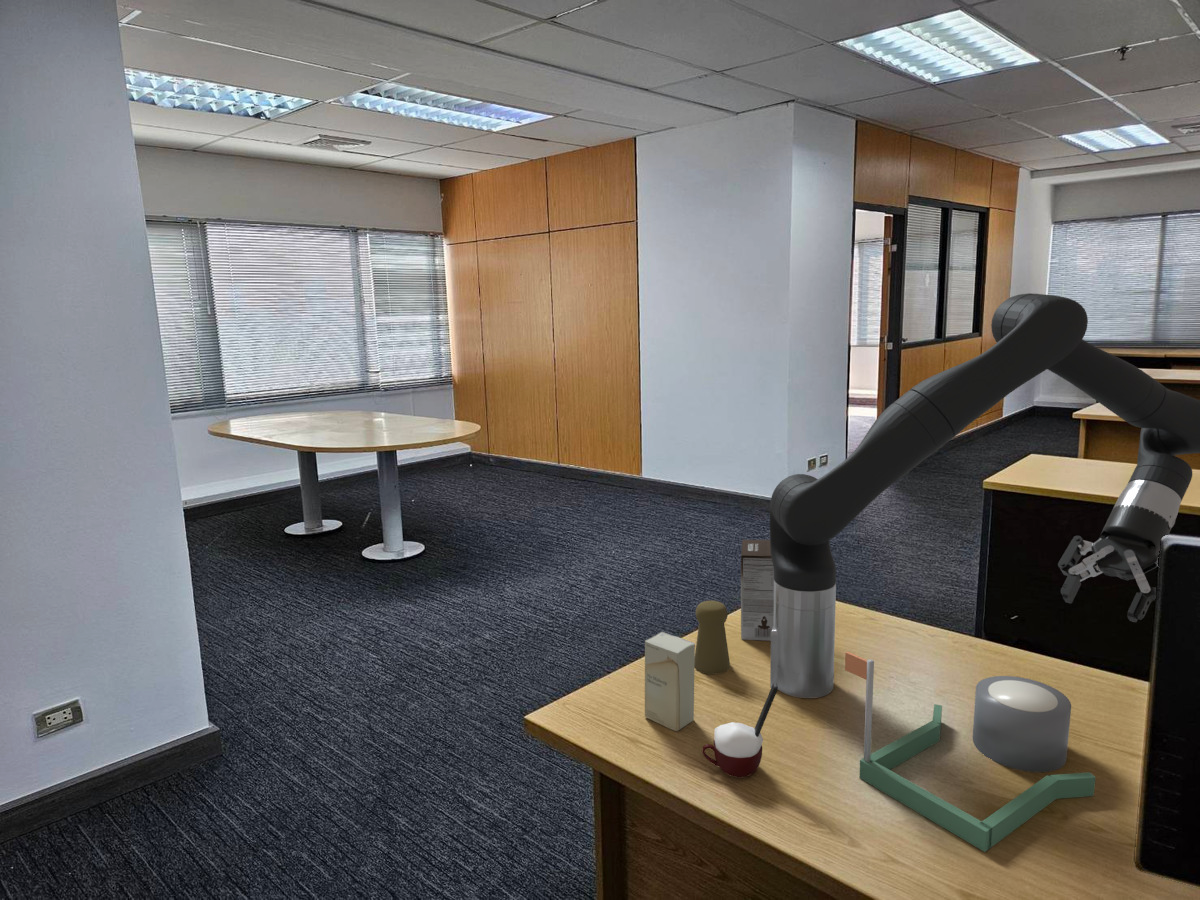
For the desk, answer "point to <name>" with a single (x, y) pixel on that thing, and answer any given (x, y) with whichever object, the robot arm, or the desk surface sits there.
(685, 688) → the skincare box
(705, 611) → the cork
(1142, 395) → the robot arm
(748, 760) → the cocoa
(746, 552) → the coffee box
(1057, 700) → the grey cylinder
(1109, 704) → the desk surface
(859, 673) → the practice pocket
